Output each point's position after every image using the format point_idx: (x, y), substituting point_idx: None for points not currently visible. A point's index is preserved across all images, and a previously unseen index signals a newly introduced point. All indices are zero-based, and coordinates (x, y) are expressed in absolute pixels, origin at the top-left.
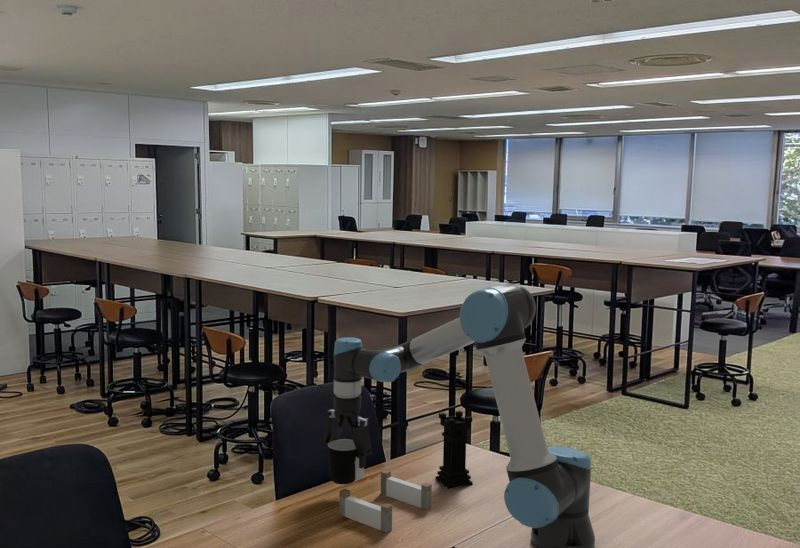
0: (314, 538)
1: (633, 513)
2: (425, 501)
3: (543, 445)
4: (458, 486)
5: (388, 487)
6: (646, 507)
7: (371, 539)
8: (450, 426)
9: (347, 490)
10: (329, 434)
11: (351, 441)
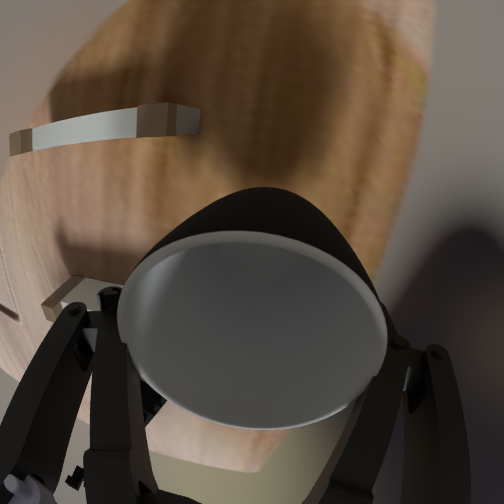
0: None
1: (3, 357)
2: (65, 284)
3: None
4: None
5: None
6: (10, 370)
7: (63, 79)
8: (75, 473)
9: (146, 130)
10: (421, 411)
11: (261, 419)
